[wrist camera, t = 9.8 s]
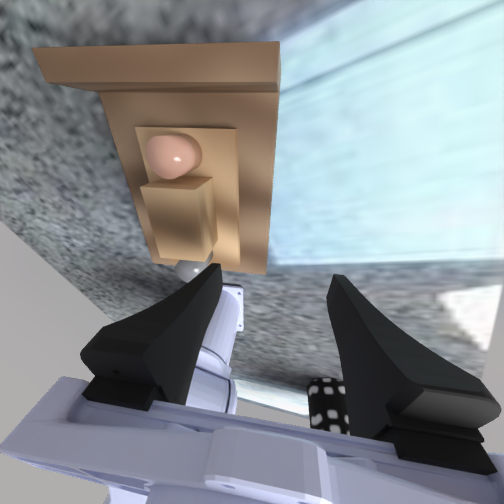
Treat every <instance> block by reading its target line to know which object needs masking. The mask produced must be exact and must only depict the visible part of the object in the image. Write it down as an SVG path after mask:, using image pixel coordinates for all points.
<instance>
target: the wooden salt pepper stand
mask: <svg viewBox="0 0 504 504" xmlns="http://www.w3.org/2000/svg"><path fill="white" fill-rule="evenodd" d="M135 130H136V134H137V138H138V142H139V145H140V149H141V153H142V157H143V161H144V165H145V168H146V172H147V176H148V180H149V183H148V184H146V185H143V186H141V187H140V189H141V192H142V196H143V199H144V203H145V206H146V210H147V213H148V216H149V220H150V223H151V227H152V230H153V234H154V237H155V241H156V244H157V248H158V251H159V254H160V258H169V260H170V262H178V263H177V264H176V265H175V273H176V275H177V276H178V277H179V278H180V279H181V280H183V281H185V282H187V283H188V282H190V281H191V280H192V279H193V278H195V277H196V276H197V275H198V274H199V273H200V272H202V271H203V270H204V269H205V268H206V267H207V266H208V265H210V264H211V263H220V264H221V267H228V268H239V265H240V234H239V183H238V132H237V129H216V128H171V127H135Z"/></svg>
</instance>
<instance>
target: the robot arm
mask: <svg viewBox="0 0 504 504" xmlns="http://www.w3.org/2000/svg"><path fill="white" fill-rule="evenodd" d="M239 292H240V293H239ZM326 299H327V307H328V313H329V317H330V321H331V325H332V328H333V332H334V335H335V339H336V343H337V346H338V351H339V355H340V361H341V367H342V374H343V381H344V387H345V395H346V403H347V411H348V421H349V431H350V435H344V434H339V433H333V432H328V431H322V430H317V429H311V428H305V427H300V426H294V425H289V424H283V423H278V422H272V421H266V420H261V419H255V418H250V417H244V416H239V415H235V412H236V406H237V391H236V386H235V382H234V381H233V379H231V378H229V377H230V373H231V367H229V366H228V365H229V362H230V357H231V353H232V349H233V345H234V340H235V336H236V332H237V331H243V328H244V324H243V288H242V287H239V286H230V285H223V282H222V271H221V264H220V263H211V264H210V265H209V266H207V267H206V268H205V269H204V270H203V271H202V272H200V273H199V274H198V275H197V276H196V277H195V278H193V279H192V280H191V281H190V282H188V283H187V284H186V285H184V286H183V287H182V288H180V289H179V290H178V291H176V292H175V293H173V294H172V295H170V296H169V297H167V298H165V299H164V300H162V301H160V302H158V303H156V304H155V305H153V306H151V307H149V308H147V309H145V310H143V311H141V312H139V313H137V314H134V315H132V316H130V317H127V318H125V319H123V320H120V321H117V322H115V323H112V324H110V325H107V326H104V327H102V329H101V330H100V331H99V332H98V333H97V334H96V335H95V336H94V337H93V338H92V339H91V341H90V342H89V343H88V344H87V345H86V346H85V347H84V348H83V349H82V351H81V353H80V356H81V360H82V361H83V363H84V364H85V365H86V366H87V367H88V368H89V370H90V371H91V372H92V373H93V374H94V375H95V377H94V378H93V380H92V381H91V382H90V383H89V382H87V381H85V380H82V379H76V378H70V377H65V376H63V377H60V378H59V379H58V381H57V382H56V383H55V384H54V385H53V386H52V387H51V388H50V390H49V391H48V392H47V393H46V394H45V395H44V396H43V397H42V399H41V400H40V401H39V402H38V403H37V404H36V405H35V406H34V407H33V408H32V410H31V411H30V412H29V413H28V414H27V415H26V416H25V417H24V419H23V420H22V421H21V422H20V423H19V424H18V426H16V428H15V429H14V430H13V431H12V432H11V433H10V434H9V435H8V436H7V438H6V439H5V440H4V441H3V442H2V443H1V444H0V453H2V454H4V455H7V456H9V457H12V458H14V459H17V460H20V461H22V462H24V463H27V464H30V465H32V466H34V467H37V468H41V469H45V470H49V471H53V472H57V473H61V474H65V475H69V476H73V477H77V478H80V479H85V480H88V481H92V482H95V483H99V484H103V485H106V486H108V490H109V493H108V495H107V497H106V499H105V501H104V503H103V504H504V454H501V453H486V451H485V450H484V448H483V447H482V445H481V443H483V442H484V438H483V437H482V435H481V433H480V432H479V430H478V428H480V427H481V426H483V425H485V424H487V423H489V422H491V421H493V420H494V419H496V418H497V417H498V416H499V415H500V413H501V407H500V405H499V403H498V402H497V401H496V400H495V398H494V397H493V396H492V394H491V393H490V392H489V391H488V389H487V388H486V387H485V385H484V384H483V383H482V382H481V380H480V379H478V378H476V377H475V376H473V375H471V374H469V373H468V372H466V371H464V370H462V369H461V368H459V367H457V366H455V365H454V364H452V363H450V362H448V361H447V360H445V359H444V358H442V357H440V356H439V355H437V354H436V353H434V352H432V351H431V350H429V349H428V348H426V347H425V346H423V345H422V344H420V343H419V342H418V341H416V340H415V339H413V338H412V337H411V336H409V335H408V334H406V333H405V332H404V331H402V330H401V329H400V328H399V327H397V326H396V325H395V324H394V323H392V322H391V321H390V320H389V319H388V318H386V317H385V316H384V315H383V314H382V313H381V312H380V311H379V310H377V309H376V308H375V307H374V306H373V305H372V304H371V303H370V302H369V301H368V300H367V299H366V298H365V297H364V296H363V295H362V294H361V293H360V292H359V291H358V290H357V289H356V287H355V286H354V285H353V284H352V283H351V282H350V281H349V280H348V279H347V278H346V277H345V276H344V275H338V274H334V275H333V278H332V281H331V284H330V288H329V291H328V294H327V297H326Z"/></svg>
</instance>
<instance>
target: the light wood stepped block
mask: <svg viewBox="0 0 504 504" xmlns="http://www.w3.org/2000/svg"><path fill="white" fill-rule="evenodd" d="M32 50H33V53H34V55H35V57H36V60H37V62H38V64H39V67H40V69H41V72H42V74H43V76H44V79H45V81H46V83H51V84H57V85H62V86H67V87H73V88H78V89H83V90H88V91H94V92H99V95H100V98H101V102H102V105H103V108H104V111H105V114H106V117H107V120H108V123H109V127H110V130H111V133H112V136H113V139H114V142H115V145H116V148H117V151H118V155H119V158H120V161H121V164H122V167H123V170H124V173H125V176H126V180H127V183H128V186H129V189H130V192H131V195H132V198H133V201H134V205H135V208H136V211H137V214H138V217H139V220H140V223H141V226H142V229H143V233H144V236H145V239H146V242H147V245H148V248H149V251H150V254H151V258H152V261H153V263H157V264H167V265H176V264H177V263H178V262H170V260H169V258H160V254H159V251H158V248H157V244H156V241H155V237H154V234H153V230H152V227H151V223H150V220H149V216H148V213H147V210H146V206H145V203H144V199H143V196H142V192H141V189H140V187H141V186H143V185H146V184H148V183H149V180H148V176H147V172H146V168H145V165H144V161H143V157H142V153H141V149H140V145H139V142H138V138H137V134H136V130H135V127H171V128H216V129H237V132H238V183H239V234H240V265H239V268H228V267H221V270H225V271H235V272H245V273H255V274H264V275H266V267H267V256H268V242H269V229H270V215H271V201H272V188H273V174H274V161H275V147H276V134H277V120H278V106H279V93H280V79H281V60H280V42H279V41H273V42H234V43H196V44H158V45H119V46H81V47H43V48H32ZM208 266H209V265H208Z"/></svg>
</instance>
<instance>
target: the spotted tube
mask: <svg viewBox="0 0 504 504" xmlns="http://www.w3.org/2000/svg"><path fill="white" fill-rule="evenodd" d="M307 393H308V405H309V416H310V428H311V429H317V430H322V431H328V432H333V433H339V434H344V435H350V431H349V421H348V411H347V403H346V395H345V387H344V381H341V380H338V379H332V378H321V379H316V380H313V381H311V382H309V383H308V385H307Z"/></svg>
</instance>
